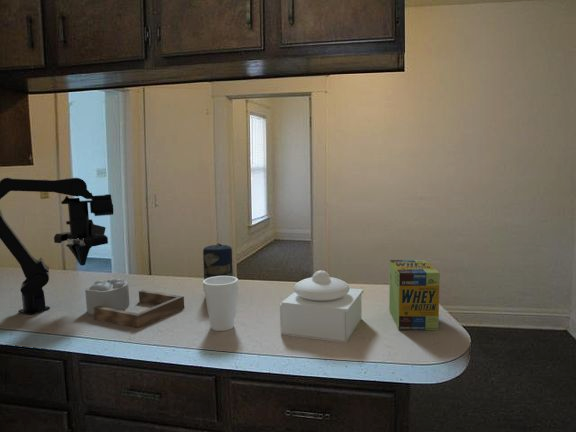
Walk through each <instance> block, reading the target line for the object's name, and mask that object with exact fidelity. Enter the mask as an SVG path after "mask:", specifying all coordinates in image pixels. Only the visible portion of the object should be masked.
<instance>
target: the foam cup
mask: <svg viewBox="0 0 576 432" xmlns="http://www.w3.org/2000/svg"><path fill="white" fill-rule="evenodd" d="M202 286H203V287H202V288H203V292H204V297H205V298H204V299H205V303H206V306H207V307H206V308H207V313H208V314H207V315H208V319H209V324H210V329H211V330H213V331H218V332H220V331H221V332H224V331H229V330H231V329H233V328H234V327H235V319H236V312H237V311H236V310H237V309H236V307H237V300H238V299H237V298H238V290H239V279H238V277H236V276H234V275H233V276H215V277H210V278H207V279H205V280H204V279H203V280H202Z"/></svg>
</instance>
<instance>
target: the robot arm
mask: <svg viewBox="0 0 576 432" xmlns="http://www.w3.org/2000/svg"><path fill="white" fill-rule="evenodd" d="M10 192H31V193H32V192H36V193H37V192H39V193H40V192H41V193H57V194H61V195H65V197H64V198H63V200H61V201H60V203H61V204H62V205H67V208H68V209H67V210H68V220H67V221H65V222H66V225H69V231H66V232H60V233H56V234H55V235H54V237H53V240H54V241H53V242H54V244H55V243H56V244H61V243H62V242H65V241H67V244H65V246H66V247H68V249H69V250H70V252H71V253H72V254H73V256H74V257H75V259H76V261H77V262H78V263H79V265H80V266H85V265H86V262H87V259H88V256H89V252H90V250H91V248H92V247H97V246H102V245H106V244H107V245H108V244H109V237H108V236H107V235H105V232H106V228H107V227H105V226H103V225H99V224H94V222H93V219H90V217H89V215H90V214H94V217H102V216H113V215H114V204H113V200H112V194H110V193H108V194H100V195H98V194H97V195H93V193H92V192H91V191H89V190H88V185H87V183H86V182H85V181H84V180H83V179H82V178H79V177H71V178H68V177H67V178H62V179H33V178H32V179H31V178H29V179H28V178H27V179H26V178H11V177H5V178H1V179H0V200H1V199H3V198H4V197H5V196H7V195H8V193H10ZM68 196H71V198H70V197H68ZM79 197H82V198H83V199H86V200H81V199H80V198H79ZM88 203H89V205H88ZM89 210H90V214H89ZM0 240H1V242H2V243H3V244H4V246H5V247H6V248H7V249H8V250H9V252H10V253H11V255H12V256H13V257H14V258H15V260H16V262H17V263H18V264H19V265H20V268H21V270H22V273H23V276H24V277H25V280H23V282H22V283H21V287H20V292H21V298H22V299H21V300H22V309H18V313H21V314H26V315H31V316H32V315H34V314H38V313H40V312H43V311H47V310H49V309H51V307H50V306H49V305H46V298H45V296H46V295H45V291H44V289H43V288H44V287H45V286H46V285H47V284H48V283H49V280H50V267H49V266H48V265H46V264H45V262H44V260H43V258H42V257H40V258H39V259H37V258H35V257H34V256H33V255H32V254H31V253H30V252H29V250H28V248H27V247H26V246H25V244H24V243H23V242H22V240H20V238H19V237H18V235H17V234H16V233H15V232H14V230H13V229H12V227H11V226H10V225H9V223H8V221H6V219H5V217H4V215H3V213H2V210H1V209H0Z"/></svg>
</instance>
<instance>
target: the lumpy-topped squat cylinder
mask: <svg viewBox="0 0 576 432" xmlns="http://www.w3.org/2000/svg"><path fill="white" fill-rule="evenodd" d="M84 290H85V291H84V292H85V302H86V303H85V304H86V313H87V314H89V315H90V314H91V315H94V307H96V306H101V307H106V308H112V309H117V310H122V311H125V310H126V309H127V308H129V307H130V291H129V282H128V281H127V280H125V279H122V278H118V279H117V278H115V277H113V278H109V279H108V280H107V281H106V280H101V279H98V280H96V281H95V282H94V284H93V285H91V286H89V287H87V288H85V289H84Z"/></svg>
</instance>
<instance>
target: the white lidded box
mask: <svg viewBox="0 0 576 432" xmlns="http://www.w3.org/2000/svg"><path fill="white" fill-rule="evenodd" d="M293 291H294V292H293V293H291V294H290V295H289V296H288V297H286V298H285V299H284V300H283V301H281V302H280V304H279V321H280V322H279V326H280V327H279V329H280V335H282V336H284V335H285V336H292V337H293V336H294V337H299V338H304V339H305V338H306V339H313V340H314V339H315V340H322V341H329V342H337V343H342V344H343V343H345V344H346V343H347V342H348V341H349V339H350V338H351V336H352V334H353V333H354V331H355V330H356V328H357V327H358V326H359V324H360V322H361V321H362V310H363V309H362V294H364V289H362V288H361V289H359V288H351V287H350V285H349V283H347V282H346V281H344V280H342V279H340V278H336V277H332V276H330V274H329V273H328V272H327V271H325V270H320V269H319V270H317V271H315V272H314V273H313V275H312V276H311V277H307V278H304V279H301V280H300V281H297V282H296V284H295V285H293Z"/></svg>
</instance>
